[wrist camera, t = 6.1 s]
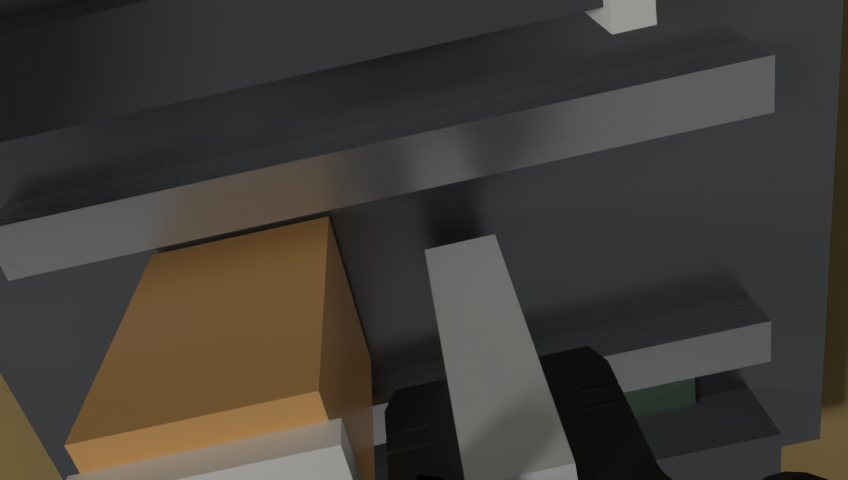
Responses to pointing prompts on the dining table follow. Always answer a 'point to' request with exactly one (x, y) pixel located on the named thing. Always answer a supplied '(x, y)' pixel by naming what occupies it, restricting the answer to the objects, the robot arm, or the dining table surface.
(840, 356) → the dining table surface
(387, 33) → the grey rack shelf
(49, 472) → the dining table surface
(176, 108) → the panel
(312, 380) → the orange white block
